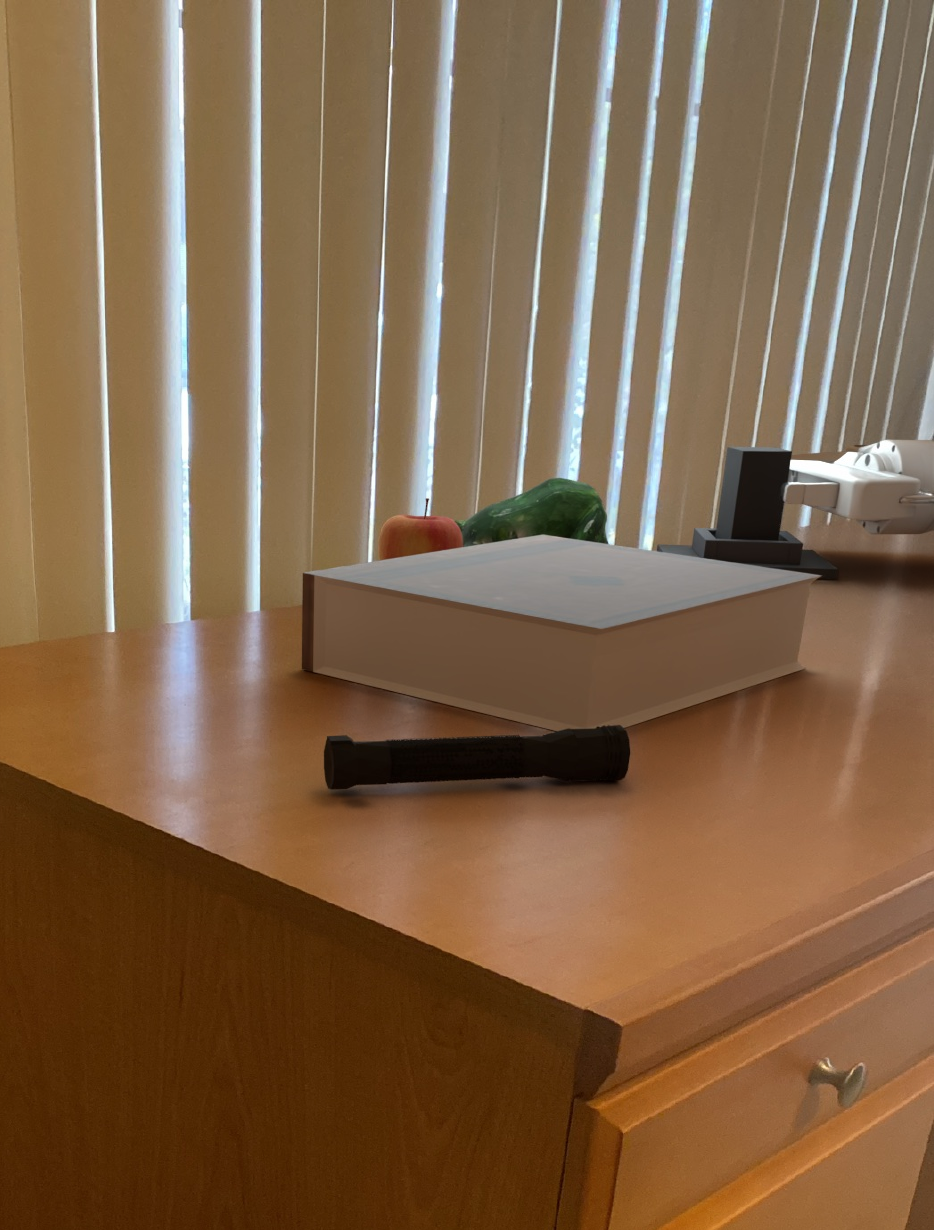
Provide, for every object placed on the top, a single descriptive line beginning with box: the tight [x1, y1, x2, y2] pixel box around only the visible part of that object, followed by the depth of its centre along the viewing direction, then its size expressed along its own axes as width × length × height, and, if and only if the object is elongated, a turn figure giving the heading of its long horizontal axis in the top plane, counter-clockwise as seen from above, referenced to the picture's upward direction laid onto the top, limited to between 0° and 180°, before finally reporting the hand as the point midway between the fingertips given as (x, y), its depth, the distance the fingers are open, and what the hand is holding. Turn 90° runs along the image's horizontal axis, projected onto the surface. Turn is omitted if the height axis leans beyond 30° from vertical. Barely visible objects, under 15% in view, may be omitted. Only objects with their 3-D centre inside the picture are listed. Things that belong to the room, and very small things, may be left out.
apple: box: [378, 497, 463, 561], centre depth 126 cm, size 7×7×8 cm
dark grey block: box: [715, 446, 793, 541], centre depth 143 cm, size 5×4×10 cm
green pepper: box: [453, 477, 609, 547], centre depth 136 cm, size 14×9×15 cm
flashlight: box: [323, 725, 632, 790], centre depth 79 cm, size 3×16×3 cm, turn 102°
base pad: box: [656, 527, 839, 581], centre depth 146 cm, size 16×12×3 cm
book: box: [301, 535, 822, 732], centre depth 103 cm, size 24×28×6 cm
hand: (763, 487), depth 143 cm, fingers open, 8 cm apart
